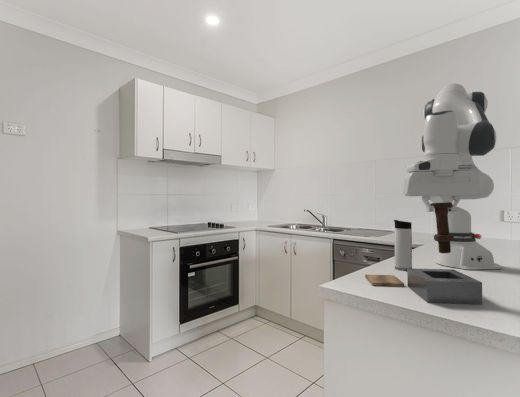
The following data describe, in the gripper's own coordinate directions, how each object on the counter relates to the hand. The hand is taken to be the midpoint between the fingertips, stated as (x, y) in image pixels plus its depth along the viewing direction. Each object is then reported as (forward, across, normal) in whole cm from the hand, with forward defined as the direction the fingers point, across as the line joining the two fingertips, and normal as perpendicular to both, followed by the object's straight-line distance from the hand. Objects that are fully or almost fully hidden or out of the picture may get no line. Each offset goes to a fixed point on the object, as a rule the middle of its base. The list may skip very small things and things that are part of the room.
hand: (440, 211), depth 85 cm
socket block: (+25, 0, 0) cm, 25 cm away
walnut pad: (+25, +13, -12) cm, 31 cm away
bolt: (+12, -1, 0) cm, 13 cm away
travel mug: (+25, 0, -31) cm, 40 cm away
